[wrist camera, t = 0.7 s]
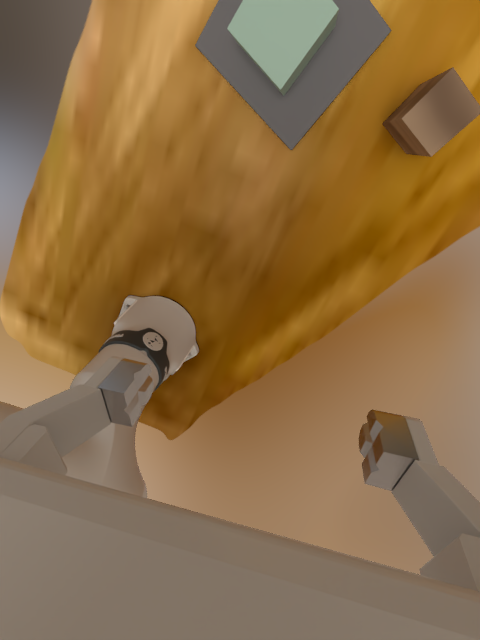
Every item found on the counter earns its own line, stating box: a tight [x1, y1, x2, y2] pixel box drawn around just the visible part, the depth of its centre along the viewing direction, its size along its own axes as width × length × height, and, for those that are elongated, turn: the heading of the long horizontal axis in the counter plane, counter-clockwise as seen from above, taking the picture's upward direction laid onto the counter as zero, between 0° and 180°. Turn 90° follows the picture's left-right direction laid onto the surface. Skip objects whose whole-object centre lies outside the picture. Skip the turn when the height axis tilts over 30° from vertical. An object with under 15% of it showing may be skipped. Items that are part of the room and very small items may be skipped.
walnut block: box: [383, 68, 480, 157], centre depth 31 cm, size 5×5×9 cm
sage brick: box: [227, 0, 339, 96], centre depth 31 cm, size 8×8×5 cm
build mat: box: [195, 0, 391, 150], centre depth 33 cm, size 15×17×1 cm
